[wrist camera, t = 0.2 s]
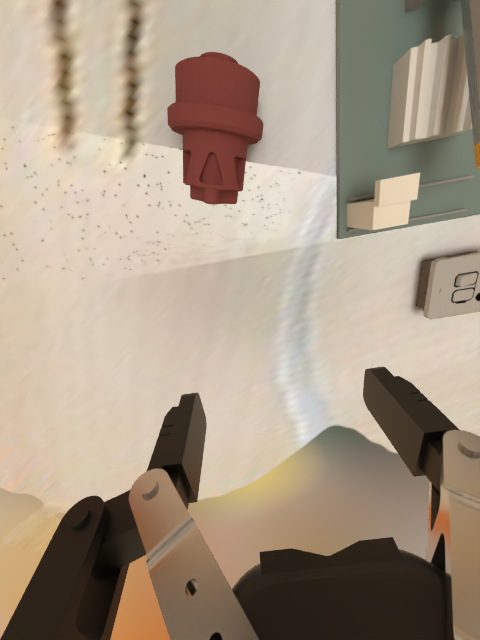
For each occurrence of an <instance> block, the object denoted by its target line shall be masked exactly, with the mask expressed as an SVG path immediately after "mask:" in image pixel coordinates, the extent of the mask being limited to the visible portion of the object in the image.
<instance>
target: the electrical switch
mask: <svg viewBox="0 0 480 640" xmlns="http://www.w3.org/2000/svg"><path fill="white" fill-rule="evenodd" d="M425 292H426V293H427V294H426V293H425ZM419 300H420V301H419ZM416 306H418V307H420V308H422V309H423V310H424V316H425V317H426V318H429V319H436V318H442V317H448V316H455V315H461V314H468V313H474V312H480V252H471V253H465V254H459V255H454V256H448V257H442V258H436V259H431V260H425V261H422V267H421V275H420V282H419V290H418V298H417V305H416Z"/></svg>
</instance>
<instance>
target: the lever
mask: <svg viewBox="0 0 480 640" xmlns="http://www.w3.org/2000/svg"><path fill="white" fill-rule="evenodd" d="M460 2H461V12H462V23H463V34H464V45H465V56H466V66H467V77H468V88H469V99H470V110H471V120H472V131H473V142H474V153H475V164H476V168H479V167H480V0H460Z"/></svg>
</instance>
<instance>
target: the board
mask: <svg viewBox="0 0 480 640" xmlns="http://www.w3.org/2000/svg"><path fill="white" fill-rule="evenodd" d="M336 118H337V239H343V238H349V237H354V236H360V235H365V234H371V233H377V232H382V231H388V230H393V229H399V228H405V227H410V226H416V225H421V224H427V223H433V222H438V221H444V220H449V219H455V218H461V217H466V216H472V215H478V214H480V167H479V168H476V164H475V153H474V142H473V131H472V120H471V110H470V99H469V88H468V77H467V66H466V56H465V45H464V34H463V23H462V12H461V2H460V0H336ZM415 173H420V179H419V188H418V196H417V200H411V202H410V211H409V220H408V224H405V225H399V226H394V227H388V228H382V229H377V230H367V229H359V228H351V227H347V204H348V203H354V202H359V201H365V200H370V199H374V198H375V181H378V180H383V179H388V178H394V177H399V176H404V175H410V174H415Z"/></svg>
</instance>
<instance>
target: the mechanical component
mask: <svg viewBox="0 0 480 640" xmlns="http://www.w3.org/2000/svg"><path fill="white" fill-rule="evenodd" d="M175 80H176V103H173V104H171V105H170V106H169V107H168V109H167V110H168V125H169V126H170V128H171V129H172V130H173V131H174V132H176V133H179V134H182V135H183V183H185V184H186V185H190V197H191V198H192V199H195V200H199V201H203V202H205V203H207V204H236V203H237V195H238V191H242V190H243V182H244V172H245V162H246V152H247V144H255V143H257V142H258V141H260V140H261V139H262V131H263V122H262V120H261V119H260V118H259V117H257V116H256V115H257V106H258V96H259V87H260V81H259V79H258V77H257V76H256V75H255V74H254V73H253V72H251V71H250V70H249V69H247V68H245V67H243V66H241V65H239V64H238V63H237V61H236V60H235V59H234V58H232V57H230V56H228V55H225V54H222V53H216V52H208V53H204V54H202V55H201V56H200V57H192V58H187V59H184V60H182V61H180V62H179V63H177V64H176V66H175Z"/></svg>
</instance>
